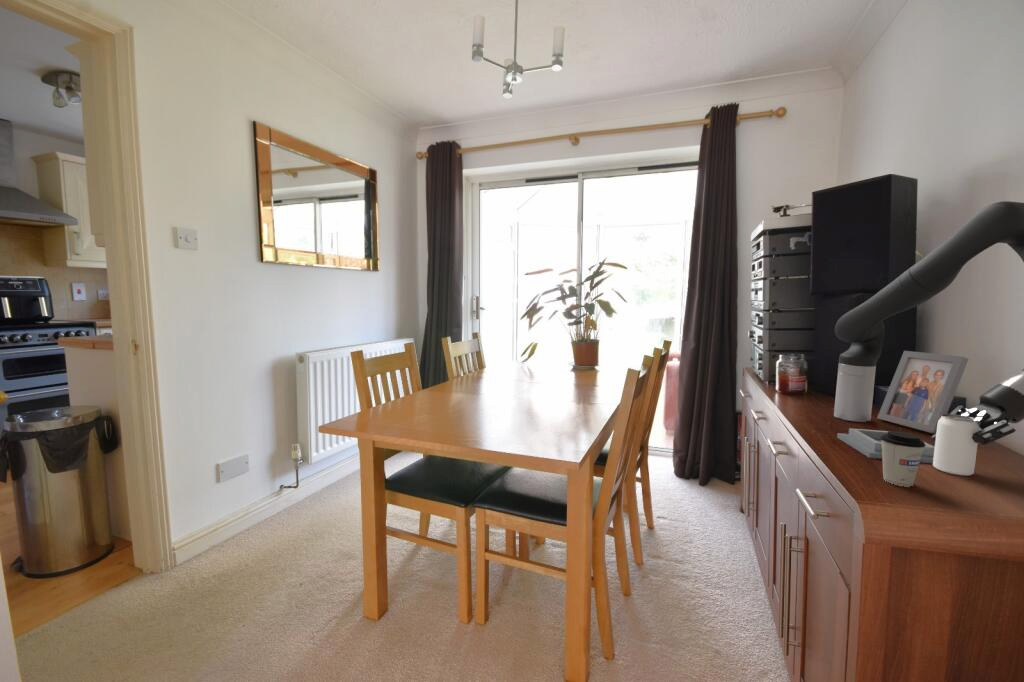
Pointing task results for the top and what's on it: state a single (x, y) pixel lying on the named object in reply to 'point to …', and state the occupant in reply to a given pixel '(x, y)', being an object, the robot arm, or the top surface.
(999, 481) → the top surface
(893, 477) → the coffee cup
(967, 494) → the top surface
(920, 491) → the top surface
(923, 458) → the can dock
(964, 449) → the can
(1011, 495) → the top surface
